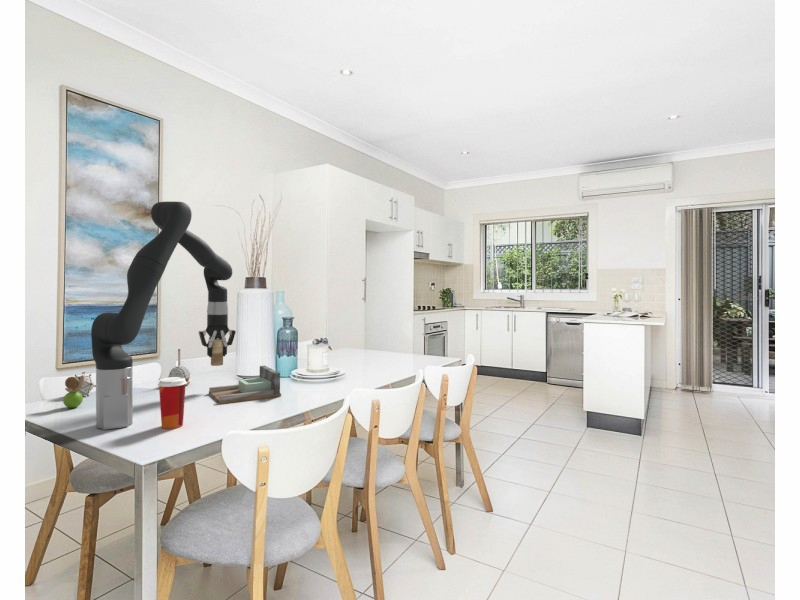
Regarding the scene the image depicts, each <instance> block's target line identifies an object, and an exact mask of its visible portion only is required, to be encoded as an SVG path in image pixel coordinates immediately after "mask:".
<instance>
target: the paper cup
mask: <svg viewBox="0 0 800 600" xmlns="http://www.w3.org/2000/svg"><path fill="white" fill-rule="evenodd" d="M186 383H187V382H186V381H185V378H181V377H170V378H168V377H165V378H161V379H159V381H158V383H157V386H158V390H159V391H158V392H159V393H158V394H159V405H160V406H159V407H160V408H159V409H160V418H161V419H160V421H161V429H164V430H173V429H178V428H180V427H183V425H184V413H185V398H186V396H185V395H186V386H187V385H186Z"/></svg>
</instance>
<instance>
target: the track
mask: <svg viewBox="0 0 800 600" xmlns="http://www.w3.org/2000/svg"><path fill="white" fill-rule="evenodd" d="M262 377H263V378H265V379H267V380H269V381H270V382H271V390H264V391H256V392H248V393H242V392H240V391H239V383H238V384H230V385H221V386H220V385H219V386H212V387H210V386H209V389H208V395H210V397H212V398H213V399H214V400H215V401H216V402H217V403H218V404H220V405H223V404H224V405H225V404H227V405H228V404H234V403H242V402H248V401H256V400H257V399H258V400H265V398H266V399H271V398H272V397H273V398H280V397H279V396H281V397H282V393H281V372H279V371H277V370H275V369H272V368H270V367H269V366H266V365H260V366H259V378H262Z"/></svg>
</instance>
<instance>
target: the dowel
mask: <svg viewBox="0 0 800 600" xmlns="http://www.w3.org/2000/svg"><path fill="white" fill-rule="evenodd" d="M211 348H212V357H210V366H211V367H214V366H215V367H219V366H223V365H224V356H223V340H222V339H214V342H213V344H212V347H211Z"/></svg>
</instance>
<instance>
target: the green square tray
mask: <svg viewBox="0 0 800 600" xmlns="http://www.w3.org/2000/svg"><path fill="white" fill-rule="evenodd" d="M238 384H239V391H240V392H242V393H248V392H256V391H264V390H271V382H270V381H269V380H267V379H265V378H263V377H262V378H260V377H254V378H245V379H238Z"/></svg>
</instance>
